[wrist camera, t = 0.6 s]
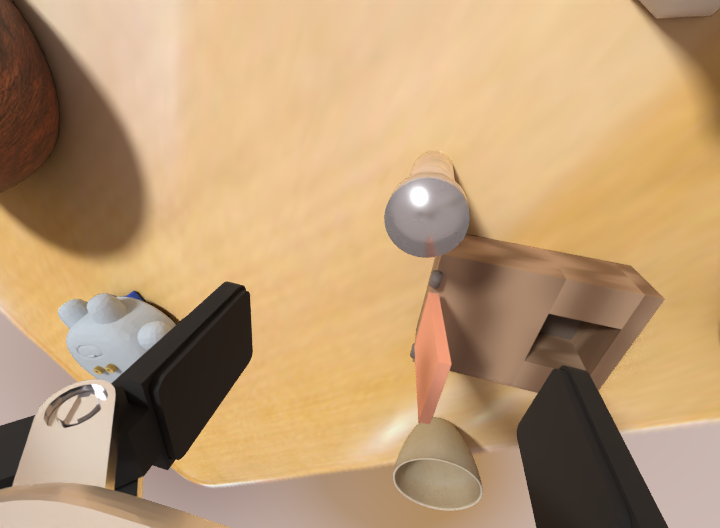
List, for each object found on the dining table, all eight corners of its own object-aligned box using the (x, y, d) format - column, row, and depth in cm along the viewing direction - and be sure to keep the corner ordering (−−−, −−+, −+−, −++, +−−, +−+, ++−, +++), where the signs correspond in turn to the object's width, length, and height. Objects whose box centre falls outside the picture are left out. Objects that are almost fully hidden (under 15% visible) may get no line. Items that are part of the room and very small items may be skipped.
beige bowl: (438, 461, 46) (437, 519, 40) (385, 423, 45) (375, 476, 39) (494, 437, 41) (503, 498, 35) (437, 392, 40) (435, 448, 34)
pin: (467, 148, 26) (480, 186, 16) (453, 202, 29) (457, 264, 19) (411, 139, 27) (391, 171, 17) (401, 193, 29) (379, 248, 19)
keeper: (428, 292, 26) (438, 293, 26) (414, 346, 29) (423, 347, 29) (438, 362, 20) (451, 364, 20) (418, 422, 23) (429, 424, 23)
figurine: (68, 287, 46) (156, 377, 56) (3, 331, 39) (117, 425, 49) (156, 268, 40) (237, 372, 50) (99, 315, 33) (206, 425, 43)
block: (630, 265, 28) (673, 307, 23) (569, 364, 34) (592, 415, 29) (437, 228, 30) (435, 259, 25) (412, 327, 36) (407, 368, 31)
